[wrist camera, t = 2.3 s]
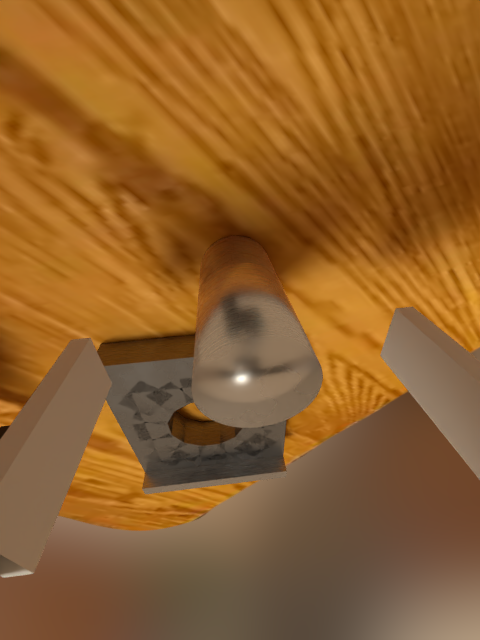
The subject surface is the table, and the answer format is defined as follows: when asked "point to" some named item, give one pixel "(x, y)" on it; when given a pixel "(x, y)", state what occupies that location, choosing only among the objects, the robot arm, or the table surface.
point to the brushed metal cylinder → (249, 341)
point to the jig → (181, 421)
